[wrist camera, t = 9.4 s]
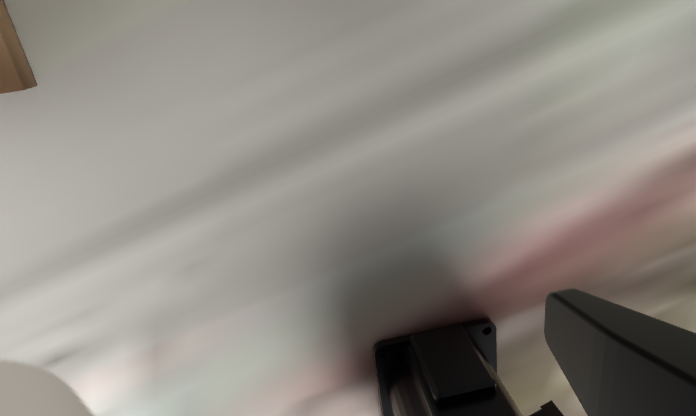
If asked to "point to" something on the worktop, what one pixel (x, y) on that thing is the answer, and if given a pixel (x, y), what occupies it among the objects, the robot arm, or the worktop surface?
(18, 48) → the walnut board
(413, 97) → the worktop surface
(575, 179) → the worktop surface
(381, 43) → the worktop surface
